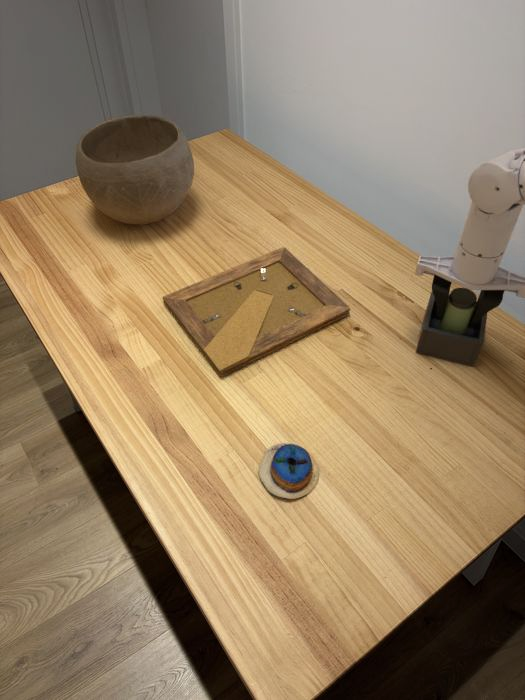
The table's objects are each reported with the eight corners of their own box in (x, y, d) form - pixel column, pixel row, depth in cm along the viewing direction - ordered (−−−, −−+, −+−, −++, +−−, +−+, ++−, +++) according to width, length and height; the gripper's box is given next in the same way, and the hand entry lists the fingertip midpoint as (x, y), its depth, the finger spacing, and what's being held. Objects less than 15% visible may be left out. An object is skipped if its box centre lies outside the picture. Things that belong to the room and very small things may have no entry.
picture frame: (220, 378, 79) (349, 315, 88) (219, 370, 78) (350, 306, 87) (163, 303, 90) (283, 253, 98) (161, 295, 89) (284, 245, 97)
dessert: (327, 495, 66) (299, 474, 63) (282, 514, 69) (253, 496, 65) (317, 441, 72) (292, 419, 69) (276, 461, 75) (250, 441, 71)
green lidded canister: (468, 320, 83) (480, 290, 78) (464, 338, 80) (476, 308, 76) (441, 313, 84) (451, 283, 79) (436, 331, 81) (446, 301, 77)
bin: (478, 327, 86) (488, 304, 82) (473, 367, 81) (483, 343, 77) (424, 315, 88) (431, 291, 84) (415, 352, 83) (422, 329, 79)
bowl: (73, 203, 109) (50, 130, 98) (164, 169, 117) (153, 98, 106) (121, 257, 98) (102, 181, 87) (219, 215, 106) (213, 141, 95)
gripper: (543, 237, 72) (508, 312, 82) (429, 216, 75) (410, 290, 85) (541, 271, 67) (505, 345, 77) (421, 246, 70) (402, 321, 81)
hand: (455, 319), depth 81 cm, fingers closed on green lidded canister, 4 cm apart
